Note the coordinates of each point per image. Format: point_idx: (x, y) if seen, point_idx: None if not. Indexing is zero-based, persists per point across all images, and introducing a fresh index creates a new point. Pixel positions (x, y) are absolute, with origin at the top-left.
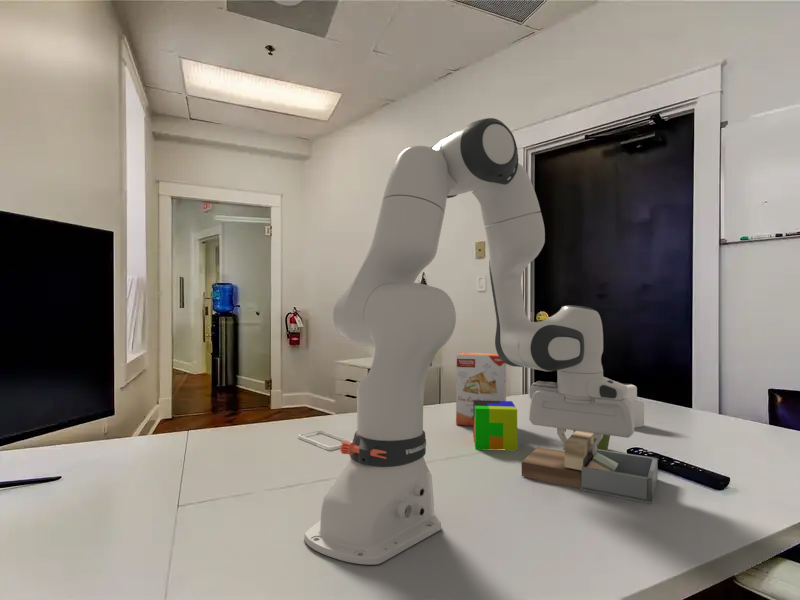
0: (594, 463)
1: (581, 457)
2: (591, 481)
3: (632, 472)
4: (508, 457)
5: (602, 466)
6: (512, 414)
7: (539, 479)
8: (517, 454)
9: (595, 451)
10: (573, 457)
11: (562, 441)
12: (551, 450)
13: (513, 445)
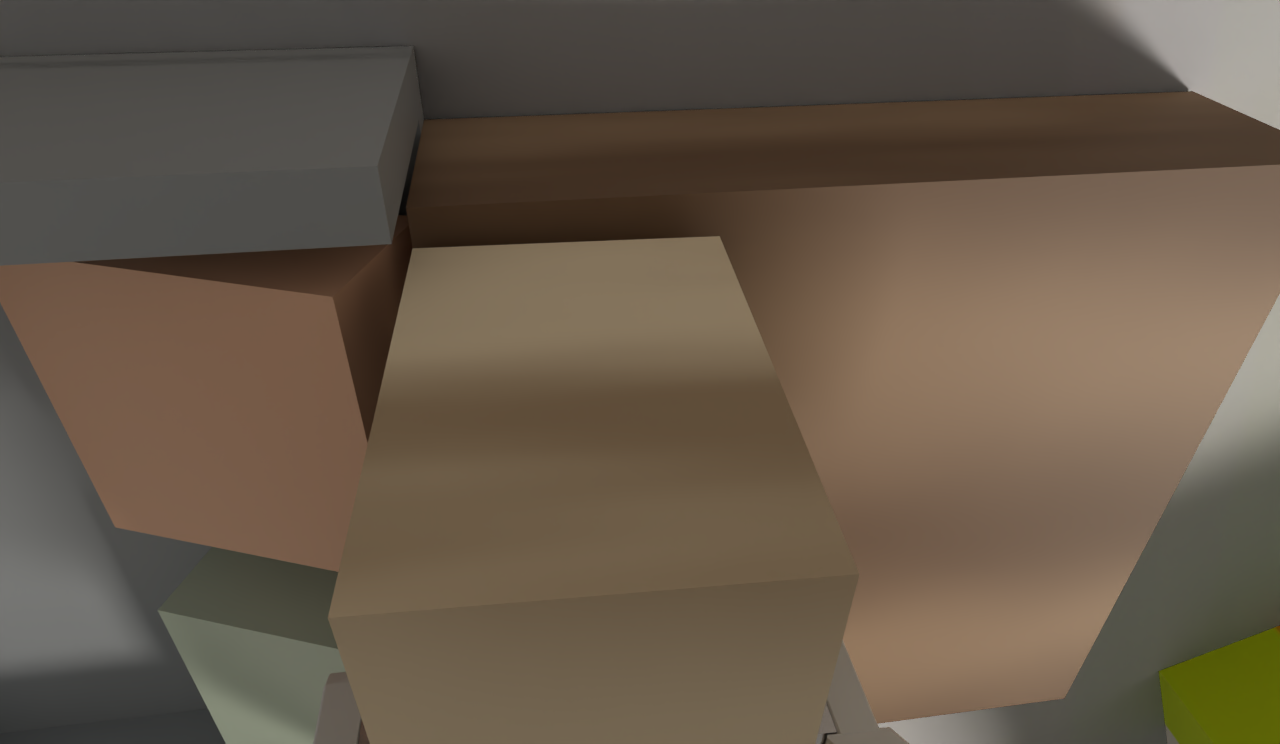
0: (340, 540)
1: (420, 381)
2: (237, 96)
3: (139, 725)
4: (1255, 519)
5: (312, 605)
6: None
7: (978, 100)
8: (1164, 610)
9: (319, 726)
10: (587, 354)
11: (882, 734)
12: (929, 692)
13: (1218, 698)
